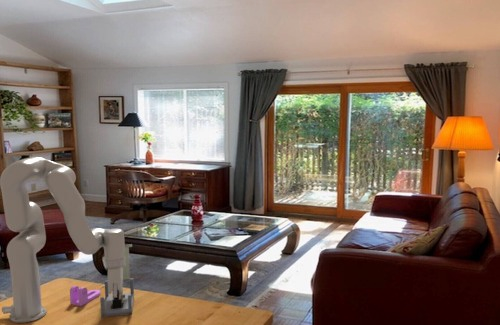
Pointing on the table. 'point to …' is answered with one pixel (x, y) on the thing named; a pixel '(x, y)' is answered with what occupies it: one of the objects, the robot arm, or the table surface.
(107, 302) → the housing
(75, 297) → the bracket
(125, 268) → the lid
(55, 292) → the table surface
